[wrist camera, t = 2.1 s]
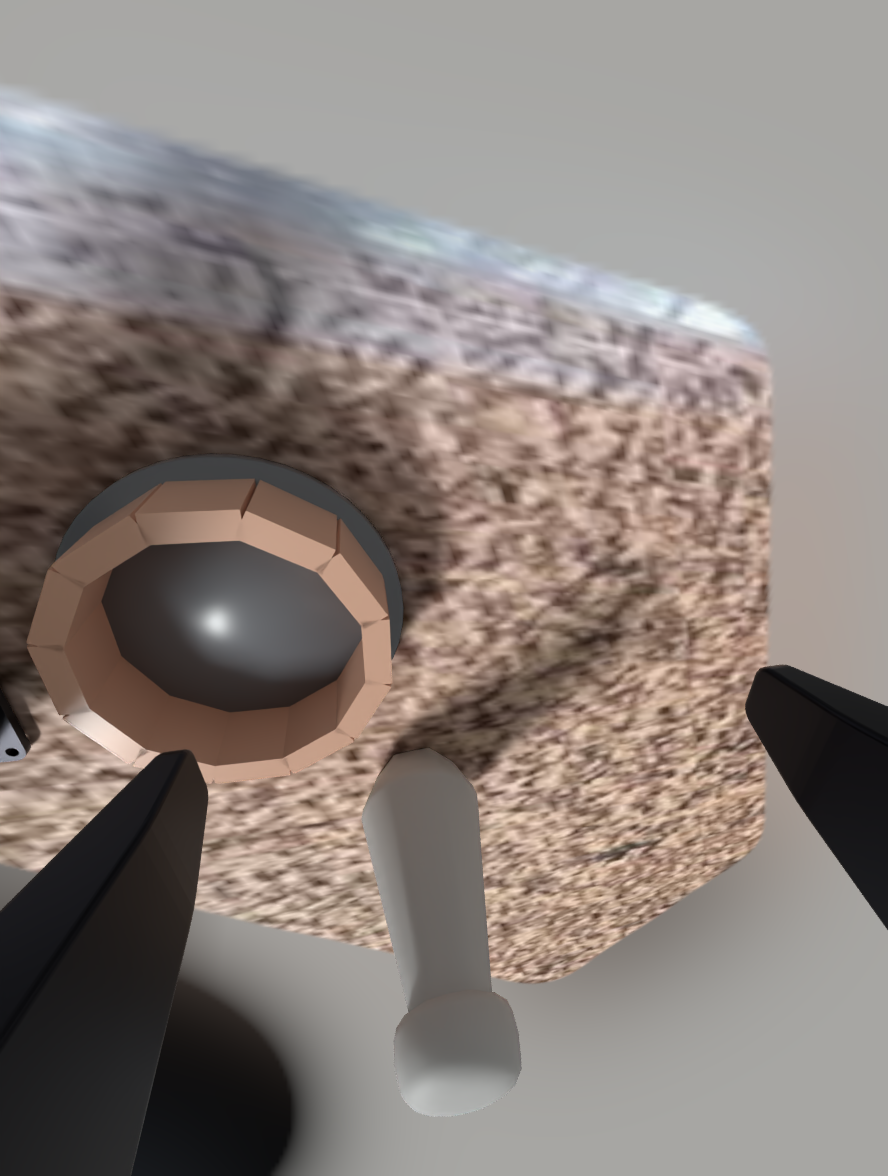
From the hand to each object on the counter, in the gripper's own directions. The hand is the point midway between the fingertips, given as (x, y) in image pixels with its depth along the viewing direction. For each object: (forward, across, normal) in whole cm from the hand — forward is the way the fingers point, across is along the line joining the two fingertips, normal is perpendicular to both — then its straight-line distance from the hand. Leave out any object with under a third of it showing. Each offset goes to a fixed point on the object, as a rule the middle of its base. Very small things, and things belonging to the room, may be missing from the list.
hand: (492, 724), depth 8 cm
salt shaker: (+13, +1, +16) cm, 21 cm away
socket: (+13, +7, +5) cm, 16 cm away
